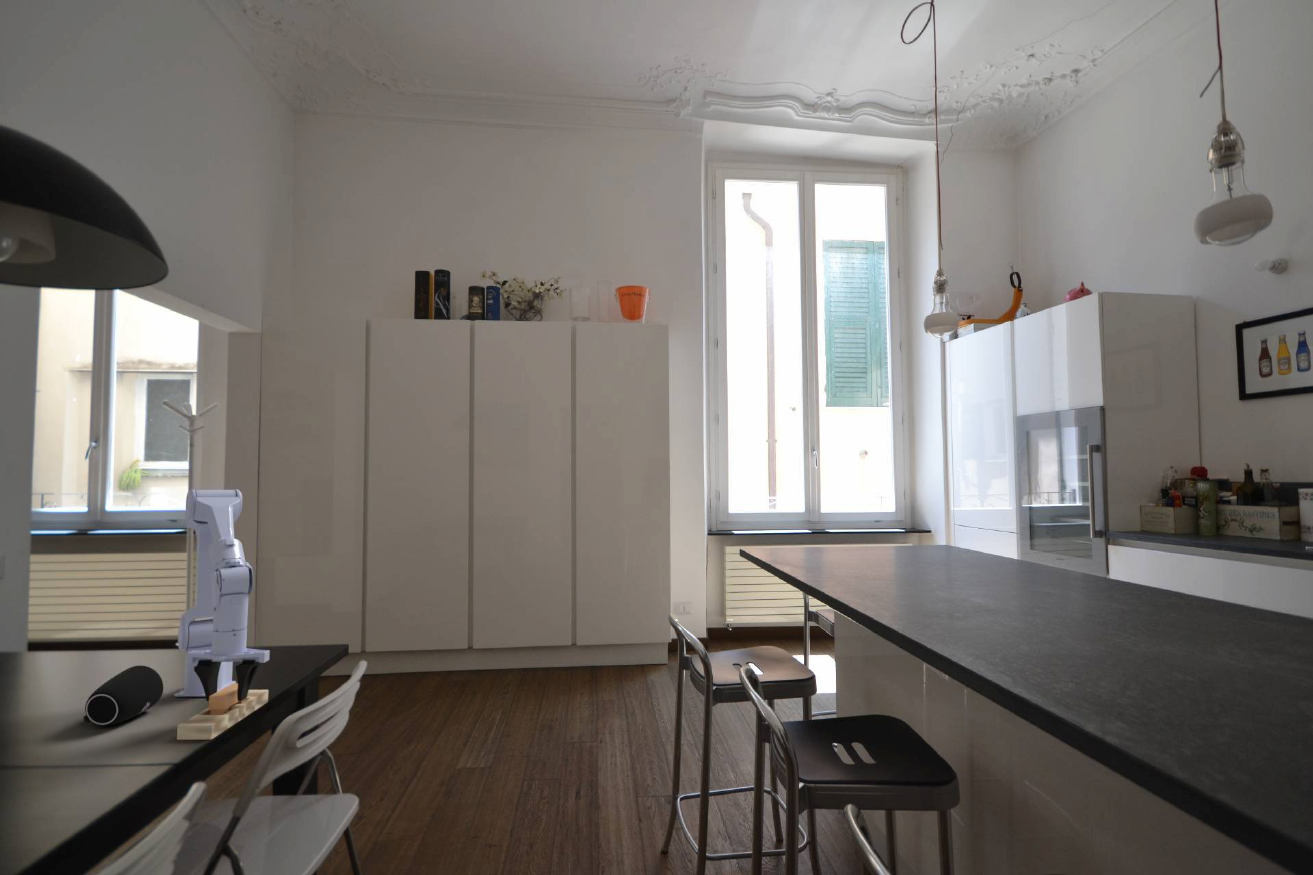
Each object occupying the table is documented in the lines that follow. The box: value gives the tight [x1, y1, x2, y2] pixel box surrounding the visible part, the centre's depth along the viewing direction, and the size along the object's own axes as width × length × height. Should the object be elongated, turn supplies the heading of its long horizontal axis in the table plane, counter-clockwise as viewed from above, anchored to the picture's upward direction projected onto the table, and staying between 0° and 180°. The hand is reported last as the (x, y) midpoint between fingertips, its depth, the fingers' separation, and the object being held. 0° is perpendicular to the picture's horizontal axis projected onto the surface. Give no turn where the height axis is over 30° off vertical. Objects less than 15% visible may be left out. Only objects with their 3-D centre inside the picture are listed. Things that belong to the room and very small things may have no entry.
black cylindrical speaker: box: [82, 664, 164, 727], centre depth 131 cm, size 12×9×10 cm
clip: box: [208, 682, 248, 715], centre depth 133 cm, size 8×3×6 cm, turn 4°
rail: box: [176, 689, 269, 741], centre depth 132 cm, size 20×6×2 cm, turn 4°
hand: (226, 699), depth 133 cm, fingers open, 5 cm apart
